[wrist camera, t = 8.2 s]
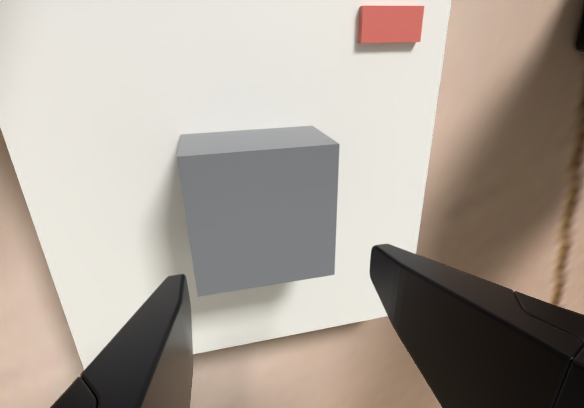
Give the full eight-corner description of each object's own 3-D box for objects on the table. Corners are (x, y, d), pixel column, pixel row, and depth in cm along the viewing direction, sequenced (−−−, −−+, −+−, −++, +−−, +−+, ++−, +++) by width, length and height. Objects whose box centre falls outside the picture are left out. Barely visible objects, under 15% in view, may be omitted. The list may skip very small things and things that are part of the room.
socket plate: (412, -23, 16) (462, -39, 13) (382, 280, 22) (410, 315, 19) (-7, -33, 12) (-70, -57, 9) (101, 328, 19) (84, 380, 16)
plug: (293, 113, 17) (339, 144, 11) (295, 210, 19) (334, 274, 14) (183, 119, 16) (177, 156, 10) (196, 221, 18) (197, 296, 12)
